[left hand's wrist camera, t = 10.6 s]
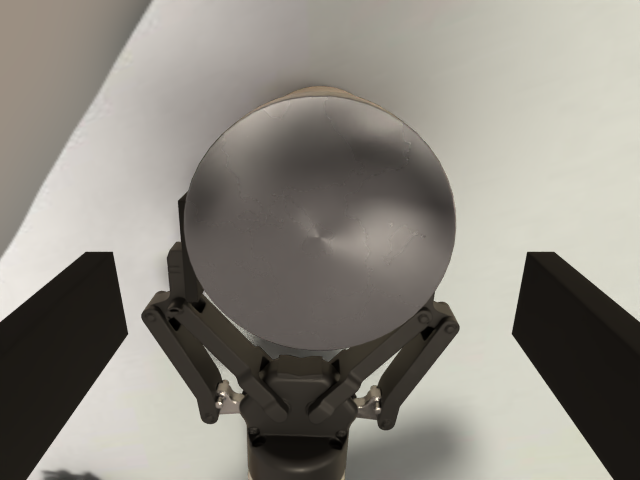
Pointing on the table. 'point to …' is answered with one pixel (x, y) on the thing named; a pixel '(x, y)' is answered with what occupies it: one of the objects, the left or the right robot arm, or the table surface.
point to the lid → (319, 221)
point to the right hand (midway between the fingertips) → (305, 198)
